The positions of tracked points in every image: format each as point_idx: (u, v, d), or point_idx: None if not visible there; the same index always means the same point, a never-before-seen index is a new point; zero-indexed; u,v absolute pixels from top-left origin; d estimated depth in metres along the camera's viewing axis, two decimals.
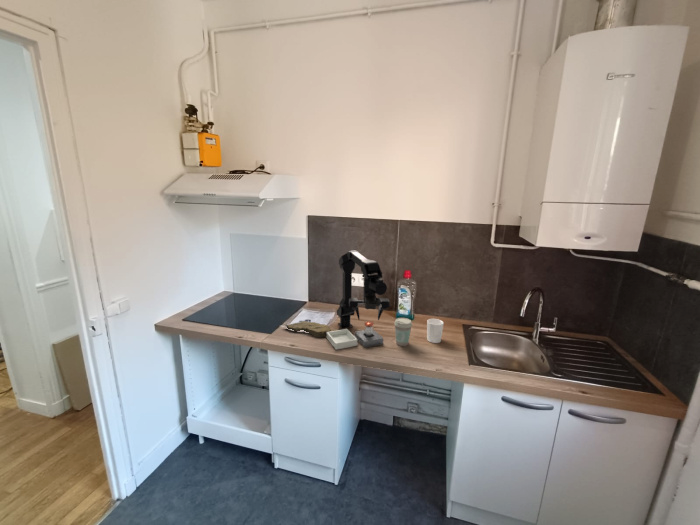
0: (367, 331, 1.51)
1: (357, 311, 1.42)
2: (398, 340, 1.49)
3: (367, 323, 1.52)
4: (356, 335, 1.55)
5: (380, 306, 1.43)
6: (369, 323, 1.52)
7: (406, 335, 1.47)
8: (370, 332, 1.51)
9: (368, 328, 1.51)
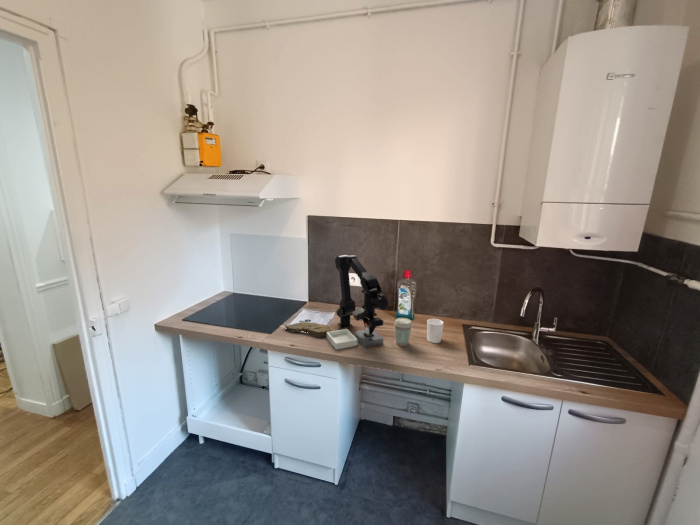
0: (367, 331, 1.51)
1: None
2: (398, 340, 1.49)
3: None
4: (356, 335, 1.55)
5: None
6: None
7: (406, 335, 1.47)
8: None
9: (368, 328, 1.51)
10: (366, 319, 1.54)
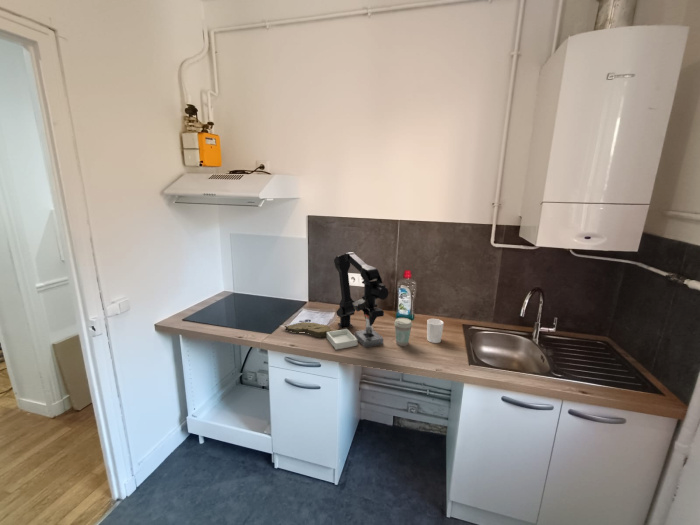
0: (367, 322, 1.50)
1: (364, 313, 1.53)
2: (398, 340, 1.49)
3: None
4: (356, 335, 1.55)
5: None
6: None
7: (406, 335, 1.47)
8: None
9: (368, 319, 1.50)
10: (367, 310, 1.53)
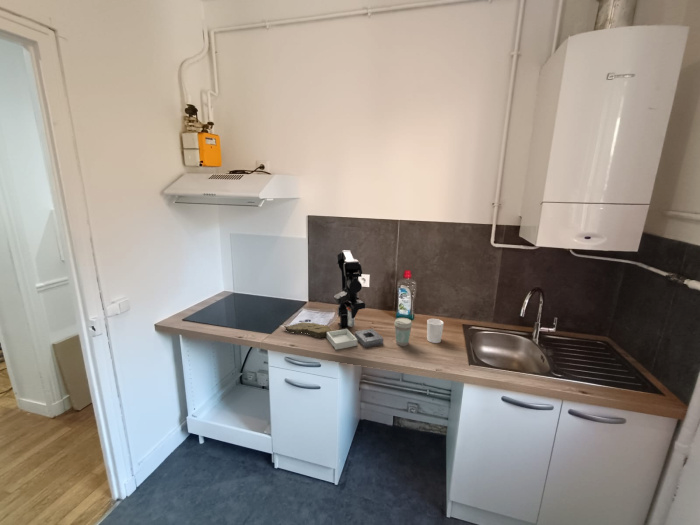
0: (349, 315, 1.48)
1: (346, 306, 1.51)
2: (398, 340, 1.49)
3: None
4: (356, 335, 1.55)
5: None
6: None
7: (406, 335, 1.47)
8: None
9: (350, 312, 1.48)
10: (349, 303, 1.51)
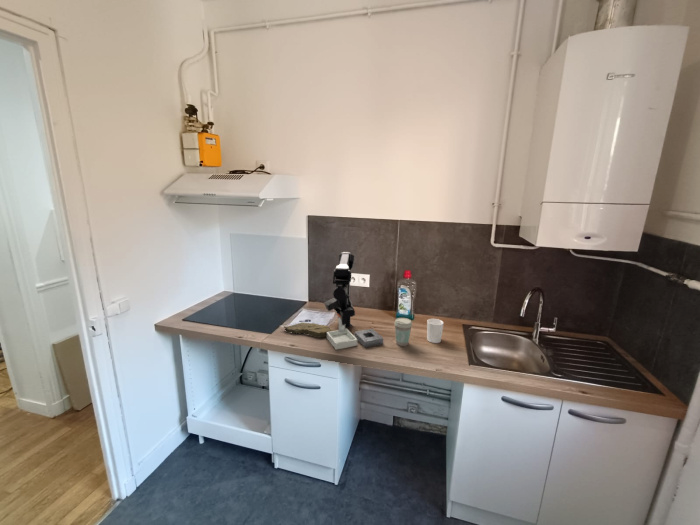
0: (340, 322, 1.49)
1: (337, 312, 1.51)
2: (398, 340, 1.49)
3: None
4: (356, 335, 1.55)
5: None
6: None
7: (406, 335, 1.47)
8: None
9: None
10: (339, 309, 1.51)
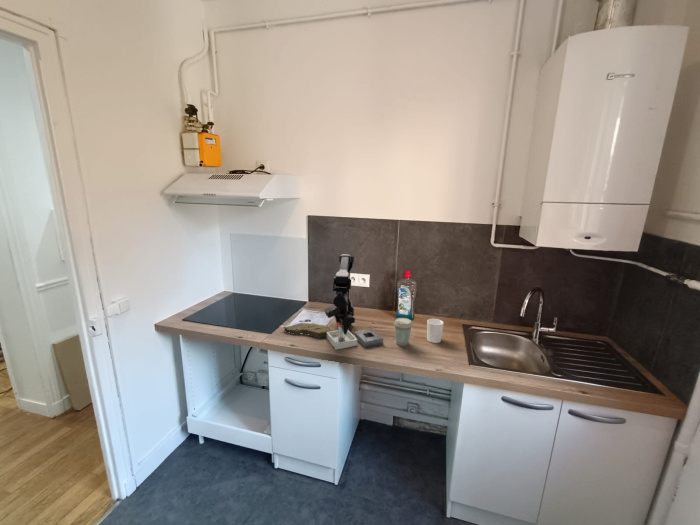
0: (340, 331, 1.50)
1: (335, 317, 1.54)
2: (398, 340, 1.49)
3: (340, 323, 1.50)
4: (356, 335, 1.55)
5: None
6: None
7: (406, 335, 1.47)
8: (343, 332, 1.50)
9: (340, 328, 1.49)
10: (338, 314, 1.54)
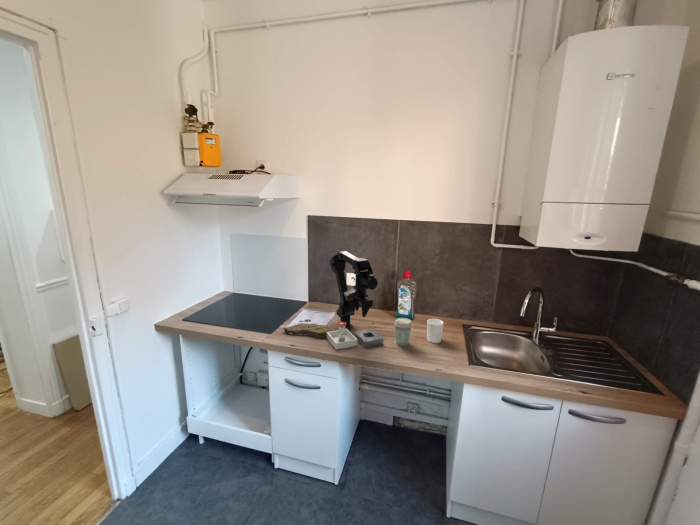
0: (340, 331, 1.50)
1: (354, 301, 1.59)
2: (398, 340, 1.49)
3: (340, 322, 1.50)
4: (356, 335, 1.55)
5: None
6: (342, 323, 1.50)
7: (406, 335, 1.47)
8: (343, 332, 1.50)
9: (341, 328, 1.49)
10: (356, 298, 1.59)
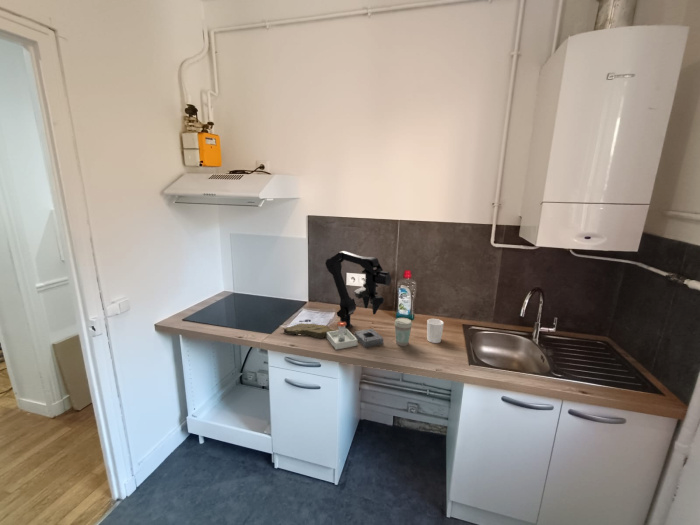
0: (340, 331, 1.50)
1: (363, 299, 1.62)
2: (398, 340, 1.49)
3: (340, 322, 1.50)
4: (356, 335, 1.55)
5: None
6: (342, 323, 1.50)
7: (406, 335, 1.47)
8: (343, 332, 1.50)
9: (341, 328, 1.49)
10: (365, 296, 1.62)
